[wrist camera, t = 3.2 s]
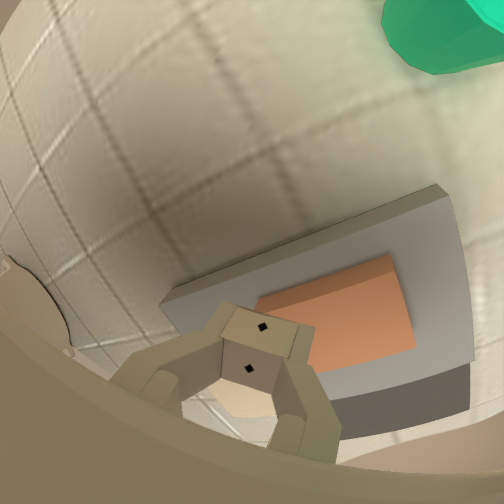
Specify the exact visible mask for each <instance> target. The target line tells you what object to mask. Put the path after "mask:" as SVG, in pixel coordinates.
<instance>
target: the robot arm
mask: <svg viewBox="0 0 504 504" xmlns="http://www.w3.org/2000/svg"><path fill="white" fill-rule="evenodd" d="M298 325H299V326H298ZM296 332H297V333H296ZM314 333H315V327H314V326H310V325H306V324H302V323H300V324H299V323H297V322H293V321H289V320H286V319H282V318H279V317H275V316H271V315H268V314H265V313H262V312H259V311H256V310H253V309H250V308H247V307H243V306H240V305H237V304H234V303H231V302H228V301H223V302H222V303H221V304H220V305H219V307H218V308H217V310H216V311H215V313H214V314H213V315H212V317H211V318H210V320H209V321H208V323H207V324H206V326H205V327H204V329H203V330H202V331H199V330H196V331H193V332H190V333H188V334H185V335H182V336H180V337H177V338H174V339H172V340H169V341H166V342H163V343H161V344H158V345H155V346H152V347H149V348H147V349H144V350H141V351H138V352H135V353H132V354H131V355H130V357H129V358H128V359H127V360H126V361H125V362H124V364H123V365H122V366H121V367H120V368H119V369H118V371H117V372H116V373H115V374H114V375H113V376H112V378H111V379H110V380H109V381H107V380H106V379H104V378H102V377H100V376H99V375H97V374H95V373H94V372H92V371H91V370H89V369H87V368H85V367H84V366H83V365H81V364H79V363H78V362H76V361H75V360H73V359H72V357H74V355H75V354H74V351H73V349H72V347H71V345H70V341H69V333H68V329H67V326H66V324H65V321H64V319H63V317H62V315H61V313H60V311H59V310H58V308H57V306H56V304H55V303H54V301H53V300H52V298H51V297H50V295H49V294H48V293H47V291H46V290H45V289H44V287H43V286H42V285H41V284H40V283H39V281H38V280H37V279H36V278H35V277H34V276H33V275H32V274H31V273H29V272H28V271H27V270H25V269H24V268H22V267H20V266H18V265H16V263H15V262H14V261H13V260H12V259H11V258H10V257H8V256H6V257H5V258H4V259H3V260H2V265H1V272H0V504H504V470H497V471H488V472H476V473H456V474H422V473H421V474H420V473H402V472H389V471H379V470H369V469H362V468H355V467H348V466H342V465H336V464H335V463H336V457H337V452H338V447H339V441H340V435H341V429H342V425H341V423H340V421H339V419H338V417H337V415H336V413H335V411H334V409H333V407H332V405H331V403H330V401H329V399H328V397H327V395H326V393H325V391H324V389H323V387H322V385H321V383H320V381H319V379H318V377H317V375H316V373H315V371H314V369H313V367H312V366H311V365H308V364H307V363H308V359H309V354H310V350H311V346H312V342H313V337H314ZM220 378H222V379H225V380H228V381H231V382H234V383H238V384H241V385H244V386H247V387H250V388H253V389H256V390H259V391H262V392H265V393H268V394H271V397H272V401H273V404H274V408H275V411H276V415H277V418H278V422H277V424H276V427H275V429H274V431H273V434H272V436H271V438H270V440H269V442H268V445H267V447H266V448H264V447H261V446H257V445H254V444H251V443H248V442H245V441H242V440H239V439H236V438H233V437H230V436H227V435H224V434H221V433H219V432H216V431H213V430H211V429H208V428H205V427H203V426H200V425H198V424H195V423H193V422H190V421H188V420H186V419H183V415H182V406H181V402H182V401H184V400H186V399H187V398H189V397H191V396H193V395H194V394H196V393H198V392H200V391H201V390H203V389H205V388H206V387H208V386H210V385H211V384H213V383H215V382H216V381H218V380H220Z"/></svg>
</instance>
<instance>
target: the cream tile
mask: <svg viewBox="0 0 504 504" xmlns="http://www.w3.org/2000/svg"><path fill="white" fill-rule="evenodd" d="M206 388H207V389H208V390H209V391H210V393H211V394H212V395H213V396H214V397H215V398H216V399H217V400H218V401H219V402H220V403H221V404H222V405H223V407H224V408H225V409H226V410H227V411H228V412H229V413H230V414H231V415H232V416H233V417H234V418H241V417H259V416H272V415H276V411H275V408H274V404H273V401H272V397H271V394H268V393H265V392H262V391H259V390H256V389H253V388H250V387H247V386H244V385H241V384H238V383H234V382H231V381H228V380H225V379H222V378H220V380H218V381H216V382H215V383H213V384H211V385H210V386H208V387H206Z"/></svg>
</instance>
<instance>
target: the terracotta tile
mask: <svg viewBox="0 0 504 504" xmlns="http://www.w3.org/2000/svg"><path fill="white" fill-rule="evenodd" d="M254 310H256V311H259V312H262V313H265V314H268V315H271V316H275V317H279V318H282V319H286V320H289V321H293V322H297V323H299V324H300V323H302V324H306V325H310V326H314V327H315V333H314V337H313V342H312V346H311V350H310V354H309V359H308V363H307V364H308V365H311V366H312V367H313V369H314V371H315V373H320V372H325V371H330V370H334V369H339V368H343V367H348V366H352V365H356V364H360V363H364V362H368V361H372V360H375V359H379V358H383V357H386V356H390V355H393V354H397V353H400V352H403V351H407V350H410V349H413V348H416V347H417V346H416V341H415V336H414V331H413V326H412V322H411V319H410V315H409V311H408V308H407V305H406V301H405V298H404V294H403V291H402V288H401V285H400V282H399V279H398V276H397V273H396V270H395V267H394V264H393V261H392V258H391V255H390V254H387V255H385V256H382V257H379V258H376V259H374V260H371V261H368V262H365V263H363V264H360V265H357V266H354V267H352V268H349V269H346V270H343V271H340V272H337V273H334V274H332V275H329V276H326V277H323V278H320V279H317V280H314V281H311V282H308V283H305V284H302V285H299V286H296V287H293V288H290V289H287V290H284V291H281V292H278V293H275V294H271V295H268V296H265V297H262V298H259V299H258V302H257V304H256V306H255V308H254ZM298 326H299V325H298ZM296 333H297V332H296Z"/></svg>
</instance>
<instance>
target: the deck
mask: <svg viewBox="0 0 504 504" xmlns="http://www.w3.org/2000/svg"><path fill="white" fill-rule="evenodd" d="M387 254H390V255H391V258H392V261H393V264H394V267H395V270H396V273H397V276H398V279H399V282H400V285H401V288H402V291H403V294H404V298H405V301H406V305H407V308H408V311H409V315H410V319H411V322H412V326H413V331H414V336H415V341H416V346H417V347H416V348H413V349H410V350H407V351H403V352H400V353H397V354H393V355H390V356H386V357H383V358H379V359H375V360H372V361H368V362H364V363H360V364H356V365H352V366H348V367H343V368H339V369H334V370H330V371H325V372H320V373H316V375H317V377H318V379H319V381H320V383H321V385H322V387H323V389H324V391H325V393H326V395H327V397H328V399H329V401H330V400H336V399H341V398H346V397H351V396H356V395H361V394H366V393H370V392H374V391H379V390H383V389H387V388H391V387H395V386H399V385H402V384H406V383H409V382H413V381H416V380H420V379H423V378H426V377H430V376H433V375H436V374H439V373H442V372H445V371H448V370H451V369H453V368H456V367H459V366H462V365H464V364H467V363H470V362H472V361H475V354H474V332H473V319H472V309H471V300H470V292H469V284H468V278H467V271H466V265H465V260H464V255H463V249H462V245H461V240H460V235H459V231H458V227H457V223H456V219H455V215H454V211H453V207H452V204H451V200H450V197H449V195H448V194H447V193H446V192H445V191H444V190H443V189H442V188H441V187H440V186H438V185H437V184H435V185H433V186H430V187H428V188H425V189H423V190H420V191H418V192H415V193H413V194H410V195H408V196H405V197H403V198H400V199H398V200H395V201H393V202H390V203H388V204H385V205H383V206H380V207H378V208H375V209H373V210H370V211H368V212H366V213H363V214H361V215H358V216H356V217H353V218H350V219H348V220H345V221H343V222H340V223H338V224H335V225H333V226H330V227H328V228H325V229H323V230H320V231H318V232H315V233H313V234H310V235H308V236H305V237H303V238H300V239H298V240H295V241H293V242H290V243H288V244H285V245H283V246H280V247H278V248H275V249H272V250H270V251H267V252H265V253H262V254H260V255H257V256H255V257H252V258H250V259H247V260H245V261H242V262H239V263H237V264H234V265H232V266H229V267H227V268H224V269H222V270H219V271H217V272H214V273H211V274H209V275H206V276H204V277H201V278H199V279H196V280H194V281H191V282H188V283H186V284H183V285H181V286H178V287H176V288H173V289H172V290H171V291H170V292H169V293H168V295H167V296H166V297H165V298H164V299H163V300H162V301H161V303H160V304H159V305H158V306H159V307H160V308H161V310H162V311H163V312H164V314H165V315H166V316H167V318H168V319H169V320H170V322H171V323H172V324H173V326H174V327H175V328H176V330H177V331H178V332H179V334H180V335H181V336H182V335H185V334H188V333H190V332H193V331H196V330H199V331H202V330H203V329H204V327H205V326H206V324H207V323H208V321H209V320H210V318H211V317H212V315H213V314H214V313H215V311H216V310H217V308H218V307H219V305H220V304H221V303H222V302H223V301H228V302H231V303H234V304H237V305H240V306H243V307H247V308H250V309H253V310H254V308H255V306H256V304H257V302H258V299H259V298H262V297H265V296H268V295H271V294H275V293H278V292H281V291H284V290H287V289H290V288H293V287H296V286H299V285H302V284H305V283H308V282H311V281H314V280H317V279H320V278H323V277H326V276H329V275H332V274H334V273H337V272H340V271H343V270H346V269H349V268H352V267H354V266H357V265H360V264H363V263H365V262H368V261H371V260H374V259H376V258H379V257H382V256H385V255H387Z"/></svg>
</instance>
